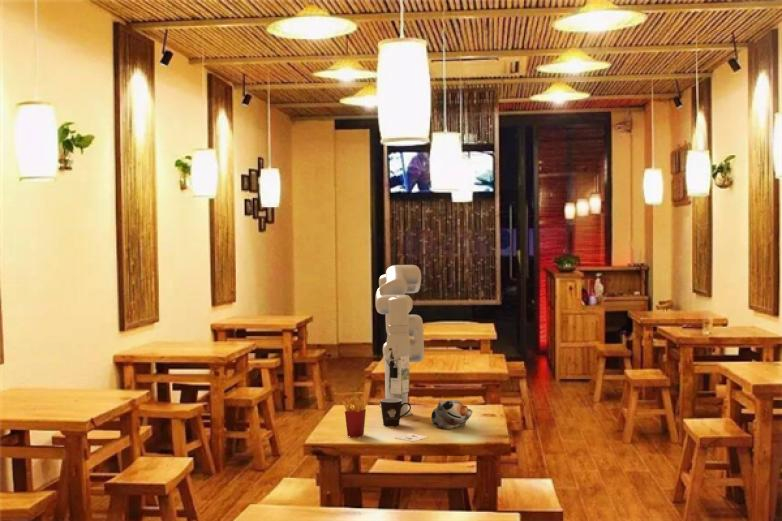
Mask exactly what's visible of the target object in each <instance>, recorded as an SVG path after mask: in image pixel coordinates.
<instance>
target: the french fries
mask: <svg viewBox="0 0 782 521" xmlns="http://www.w3.org/2000/svg"><path fill="white" fill-rule="evenodd" d="M345 400H346V401H345ZM345 400H343V401H342V405H343V406H344V408H345V411H344V415H345V423H346V432H347V434H346V435H347V437H348V436H350V437H349V438H358V437H360V438H361V437H362V435H363V436H364V433H365V423H366V412H367V411H366V410H367V409H366V407H367V400H366V399H365V397H364V396H362V395H361V396H360V399H359V397H356V396H353V397H351V398H350V399H349V398H346V399H345ZM353 400H354V404H352V401H353ZM360 400H361V402H360ZM346 402H347V403H346Z"/></svg>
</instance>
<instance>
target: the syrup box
mask: <svg viewBox="0 0 782 521" xmlns="http://www.w3.org/2000/svg"><path fill="white" fill-rule="evenodd" d="M392 359H394V358H392ZM393 363H394V361H393ZM396 368H397V378H390V367H389V393H393V394H404V393H408V394H409V393H410V362H409V355H406V356H401V357H399V360H397V366H396Z"/></svg>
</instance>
